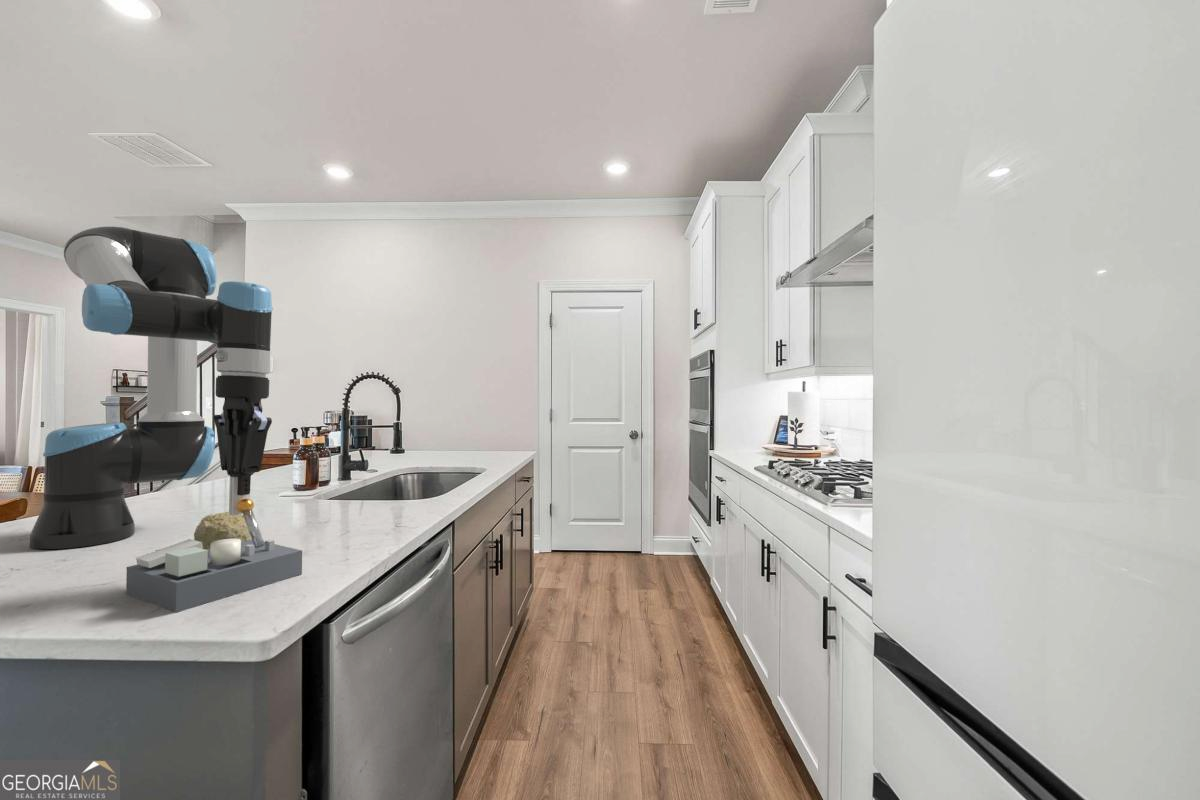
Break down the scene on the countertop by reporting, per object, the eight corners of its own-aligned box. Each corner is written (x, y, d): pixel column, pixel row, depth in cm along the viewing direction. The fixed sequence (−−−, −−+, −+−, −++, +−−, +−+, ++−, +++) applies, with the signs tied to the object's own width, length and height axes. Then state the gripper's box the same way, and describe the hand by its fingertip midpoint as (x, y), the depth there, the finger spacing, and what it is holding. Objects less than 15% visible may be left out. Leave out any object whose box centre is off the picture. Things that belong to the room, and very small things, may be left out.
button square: (165, 572, 75) (165, 552, 75) (193, 565, 78) (194, 546, 78) (178, 576, 73) (178, 556, 73) (207, 569, 77) (207, 550, 77)
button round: (204, 562, 80) (205, 543, 80) (231, 556, 83) (232, 537, 83) (218, 566, 78) (219, 546, 78) (245, 559, 81) (246, 540, 81)
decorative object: (251, 564, 103) (236, 519, 106) (268, 544, 98) (251, 497, 101) (195, 581, 96) (180, 532, 98) (209, 561, 90) (193, 509, 93)
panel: (126, 593, 78) (126, 554, 78) (252, 561, 94) (252, 529, 94) (176, 612, 72) (176, 569, 72) (301, 574, 88) (302, 539, 88)
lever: (248, 551, 86) (232, 504, 88) (263, 547, 88) (247, 501, 90) (256, 544, 85) (239, 497, 87) (271, 540, 87) (253, 495, 89)
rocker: (137, 564, 78) (135, 558, 78) (190, 544, 84) (189, 539, 84) (149, 568, 76) (148, 561, 76) (203, 548, 82) (201, 542, 82)
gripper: (197, 373, 88) (193, 513, 89) (241, 374, 83) (237, 523, 83) (244, 375, 95) (240, 505, 95) (288, 376, 89) (284, 514, 90)
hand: (239, 513), depth 89 cm, fingers closed
